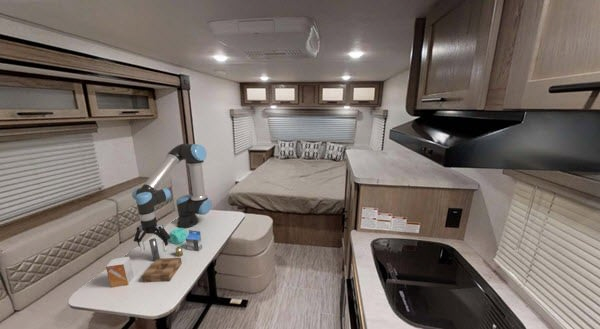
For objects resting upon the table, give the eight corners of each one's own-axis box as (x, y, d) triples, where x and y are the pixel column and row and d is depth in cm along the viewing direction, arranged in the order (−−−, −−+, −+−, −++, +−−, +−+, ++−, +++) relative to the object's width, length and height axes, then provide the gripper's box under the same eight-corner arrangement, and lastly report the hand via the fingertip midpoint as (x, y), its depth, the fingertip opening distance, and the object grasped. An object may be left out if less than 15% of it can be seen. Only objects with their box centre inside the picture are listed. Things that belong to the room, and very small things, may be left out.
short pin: (178, 253, 142) (177, 246, 140) (183, 253, 142) (182, 246, 140) (175, 257, 138) (174, 250, 137) (181, 256, 138) (180, 249, 137)
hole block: (157, 264, 132) (156, 258, 131) (181, 263, 132) (180, 257, 131) (142, 282, 118) (141, 276, 117) (169, 281, 119) (168, 275, 118)
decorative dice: (188, 238, 158) (186, 228, 156) (179, 245, 150) (177, 234, 148) (178, 236, 160) (177, 226, 158) (169, 243, 152) (167, 232, 150)
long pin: (155, 258, 137) (151, 238, 134) (161, 258, 137) (157, 238, 134) (152, 262, 134) (147, 241, 130) (157, 261, 134) (153, 241, 130)
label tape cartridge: (187, 249, 145) (184, 233, 142) (190, 246, 149) (188, 230, 146) (199, 251, 143) (196, 234, 140) (202, 247, 147) (200, 231, 144)
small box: (111, 287, 115) (105, 266, 112) (117, 278, 121) (112, 258, 118) (128, 285, 117) (123, 264, 113) (134, 276, 123) (129, 256, 119)
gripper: (121, 222, 124) (129, 255, 130) (166, 221, 125) (172, 253, 131) (130, 216, 132) (137, 247, 137) (173, 214, 133) (178, 245, 138)
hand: (154, 250), depth 134 cm, fingers open, 13 cm apart
